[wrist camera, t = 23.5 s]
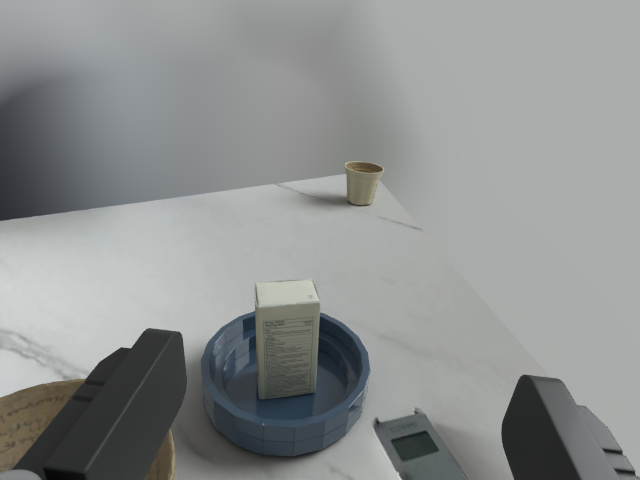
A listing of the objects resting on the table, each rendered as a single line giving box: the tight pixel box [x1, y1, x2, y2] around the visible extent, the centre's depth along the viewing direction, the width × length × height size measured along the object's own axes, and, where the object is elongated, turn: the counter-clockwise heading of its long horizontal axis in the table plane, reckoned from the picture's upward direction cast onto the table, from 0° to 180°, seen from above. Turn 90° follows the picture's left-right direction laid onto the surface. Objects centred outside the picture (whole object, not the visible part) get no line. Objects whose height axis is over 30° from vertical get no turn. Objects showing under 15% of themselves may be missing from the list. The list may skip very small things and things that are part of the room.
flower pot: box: [344, 161, 384, 206], centre depth 98 cm, size 9×9×9 cm
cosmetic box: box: [255, 279, 321, 400], centre depth 43 cm, size 6×4×12 cm
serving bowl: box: [201, 311, 370, 456], centre depth 45 cm, size 18×18×4 cm
